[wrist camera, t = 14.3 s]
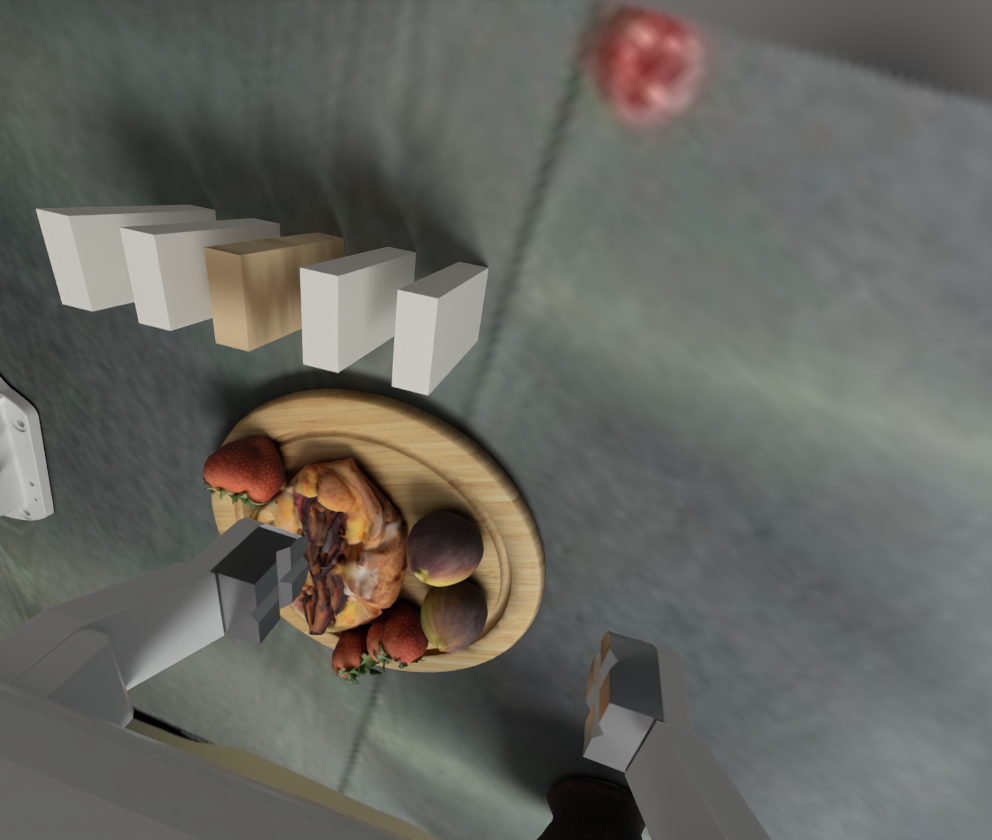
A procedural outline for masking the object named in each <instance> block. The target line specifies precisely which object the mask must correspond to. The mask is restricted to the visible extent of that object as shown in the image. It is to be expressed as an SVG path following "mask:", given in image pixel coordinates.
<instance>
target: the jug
mask: <svg viewBox="0 0 992 840" xmlns="http://www.w3.org/2000/svg"><path fill="white" fill-rule="evenodd" d="M547 801H548V804H549V807H550V809H551V812H552V814H553V820H552V822H551V823H550V824H549V825H548V827H547V828H546V829H545V831H544V832H543V833H542V835H541V836H540V837H539V838H538V839H537V840H642V837H641V834H642V832H643V830H644V828H645V826H646V824H645V822H644V820H643V817H642V815H641V813H640V810H639V808H638V806H637V803H636V801H635V798H634V797H633V796H632V795H631V794H630V793H628V792H627V791H626V790H624V789H621V788H620V787H618V786H617V785H615V784H611V783H608V782H606V781H601V780H595V779H590V778H585V777H582V778H578V777H570V778H565V779H561V780H560V781H558V782H555V783H554V784H553V785H552V786H551V788H550V789H549V792H548V795H547Z"/></svg>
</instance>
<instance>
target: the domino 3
mask: <svg viewBox="0 0 992 840" xmlns="http://www.w3.org/2000/svg"><path fill="white" fill-rule="evenodd" d="M204 252H205V260H206V268H207V276H208V284H209V292H210V300H211V308H212V316H213V324H214V332H215V340H216V343H217V344H221V345H225V346H229V347H233V348H237V349H241V350H245V351H251V350H254V349H256V348H258V347H260V346H263V345H265V344H267V343H270V342H272V341H274V340H276V339H279V338H281V337H283V336H286V335H288V334H290V333H292V332H295V331H297V330H299V329H302V315H301V287H300V267H304V266H308V265H313V264H317V263H321V262H325V261H329V260H334V259H338V258H342V257H344V238H341V237H337V236H332V235H328V234H323V233H318V232H315V233H307V234H300V235H292V236H284V237H277V238H269V239H262V240H254V241H246V242H239V243H231V244H224V245H216V246H208V247H204Z"/></svg>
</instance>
